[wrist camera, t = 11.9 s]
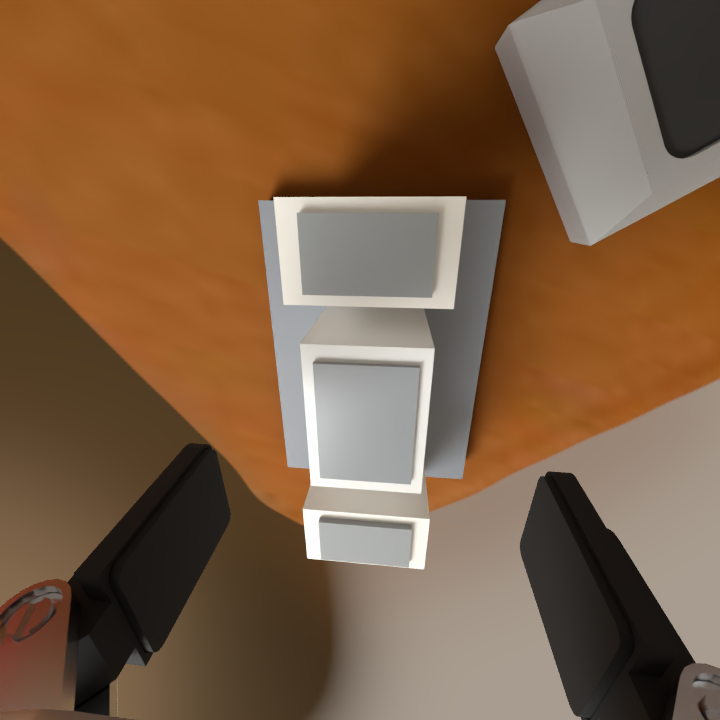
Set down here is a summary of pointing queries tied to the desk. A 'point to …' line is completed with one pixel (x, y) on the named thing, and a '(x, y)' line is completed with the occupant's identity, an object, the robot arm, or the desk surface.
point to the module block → (367, 397)
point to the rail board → (443, 330)
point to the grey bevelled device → (617, 104)
